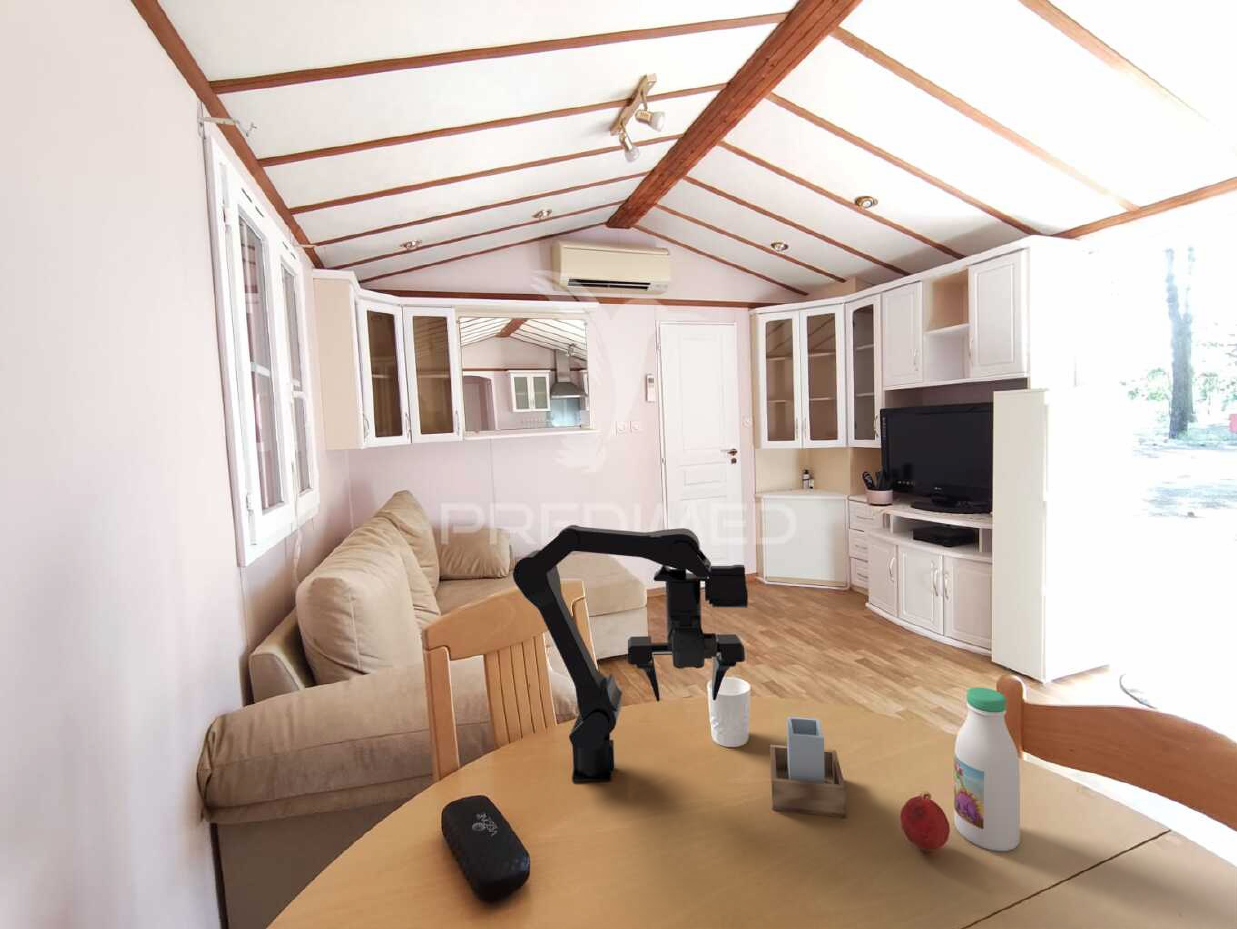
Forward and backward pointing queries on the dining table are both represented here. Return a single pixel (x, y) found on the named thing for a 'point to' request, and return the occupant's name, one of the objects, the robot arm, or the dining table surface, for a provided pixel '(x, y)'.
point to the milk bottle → (987, 775)
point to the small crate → (805, 750)
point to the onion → (924, 822)
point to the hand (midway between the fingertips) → (686, 699)
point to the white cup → (730, 712)
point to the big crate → (807, 787)
